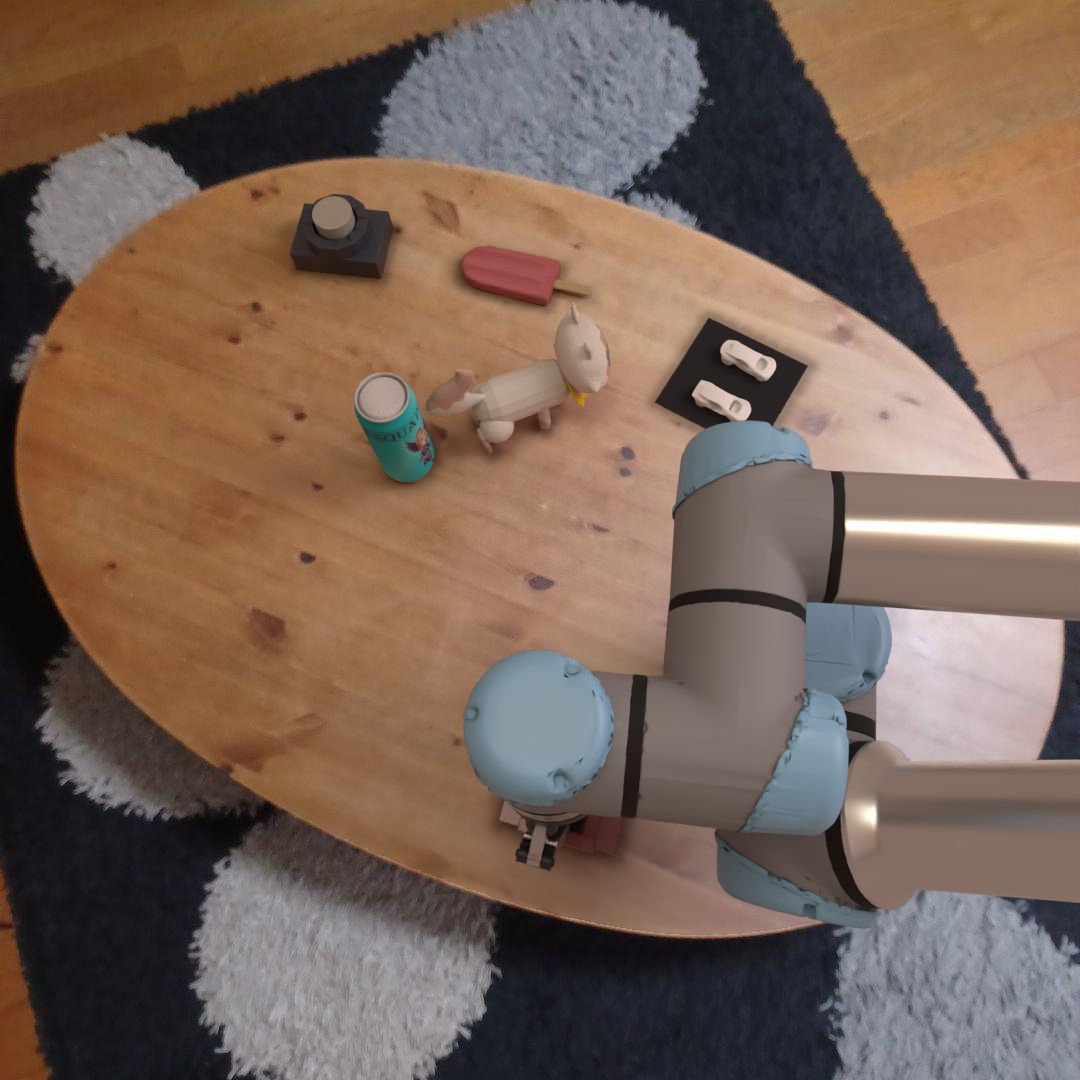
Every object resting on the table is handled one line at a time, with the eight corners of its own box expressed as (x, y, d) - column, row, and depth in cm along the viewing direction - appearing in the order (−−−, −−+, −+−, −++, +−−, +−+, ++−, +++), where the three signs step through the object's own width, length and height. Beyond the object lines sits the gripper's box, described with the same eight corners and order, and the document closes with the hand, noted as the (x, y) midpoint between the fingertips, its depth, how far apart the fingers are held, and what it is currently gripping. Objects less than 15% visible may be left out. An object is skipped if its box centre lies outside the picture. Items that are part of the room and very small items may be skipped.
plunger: (359, 209, 113) (355, 197, 111) (350, 242, 111) (346, 231, 109) (321, 205, 113) (316, 194, 111) (312, 238, 112) (307, 227, 110)
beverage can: (430, 492, 105) (403, 429, 91) (377, 483, 106) (343, 419, 92) (442, 443, 107) (419, 373, 93) (390, 434, 108) (359, 364, 94)
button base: (394, 226, 117) (385, 198, 112) (381, 279, 115) (371, 253, 110) (311, 218, 118) (299, 190, 113) (296, 270, 116) (283, 244, 111)
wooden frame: (631, 785, 94) (633, 780, 91) (613, 860, 92) (614, 858, 88) (519, 754, 96) (515, 748, 92) (498, 827, 94) (494, 824, 90)
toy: (624, 426, 107) (628, 353, 93) (456, 490, 105) (435, 427, 91) (591, 357, 110) (591, 277, 96) (428, 419, 108) (403, 347, 94)
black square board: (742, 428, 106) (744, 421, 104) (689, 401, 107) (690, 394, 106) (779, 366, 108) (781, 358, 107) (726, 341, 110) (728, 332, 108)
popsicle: (584, 308, 110) (454, 278, 112) (584, 315, 112) (456, 286, 114) (597, 267, 112) (469, 239, 114) (597, 276, 113) (471, 247, 115)
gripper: (521, 647, 66) (544, 711, 88) (463, 848, 62) (502, 862, 84) (633, 676, 65) (628, 734, 87) (582, 883, 61) (590, 888, 83)
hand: (566, 797), depth 85 cm, fingers closed
